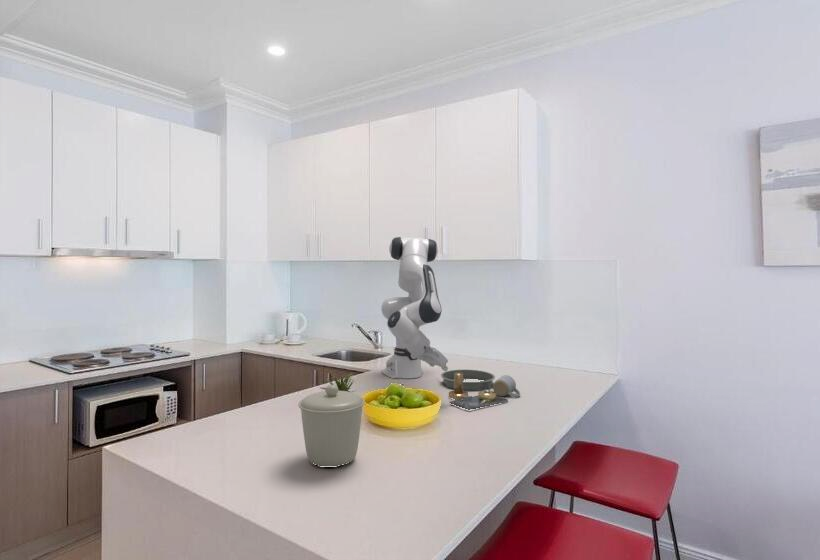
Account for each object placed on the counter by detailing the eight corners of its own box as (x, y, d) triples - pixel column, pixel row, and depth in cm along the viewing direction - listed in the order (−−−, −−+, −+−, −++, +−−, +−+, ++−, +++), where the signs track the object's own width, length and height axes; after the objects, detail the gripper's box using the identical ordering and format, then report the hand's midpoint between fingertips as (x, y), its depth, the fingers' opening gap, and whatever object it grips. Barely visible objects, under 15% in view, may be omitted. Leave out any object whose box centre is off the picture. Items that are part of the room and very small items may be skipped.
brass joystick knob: (444, 397, 192) (444, 373, 191) (459, 394, 196) (459, 370, 196) (457, 401, 185) (457, 376, 185) (472, 398, 190) (472, 374, 189)
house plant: (333, 409, 174) (332, 366, 174) (367, 413, 170) (367, 369, 170) (314, 421, 161) (313, 374, 160) (350, 425, 156) (350, 377, 156)
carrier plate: (449, 404, 181) (449, 392, 181) (487, 396, 193) (487, 385, 193) (469, 412, 171) (469, 399, 171) (508, 402, 184) (508, 391, 183)
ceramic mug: (491, 395, 194) (492, 377, 193) (499, 391, 200) (499, 373, 200) (516, 400, 188) (516, 381, 188) (522, 395, 195) (523, 377, 194)
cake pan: (438, 390, 203) (438, 380, 202) (443, 377, 227) (444, 368, 227) (495, 393, 198) (495, 382, 198) (495, 379, 222) (495, 370, 222)
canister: (335, 443, 141) (334, 374, 140) (378, 458, 129) (378, 383, 129) (285, 462, 127) (284, 386, 126) (328, 481, 115) (328, 397, 115)
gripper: (438, 342, 173) (459, 366, 178) (411, 335, 191) (431, 357, 196) (427, 355, 171) (449, 379, 176) (401, 347, 189) (422, 368, 194)
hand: (439, 367), depth 186 cm, fingers open, 8 cm apart
